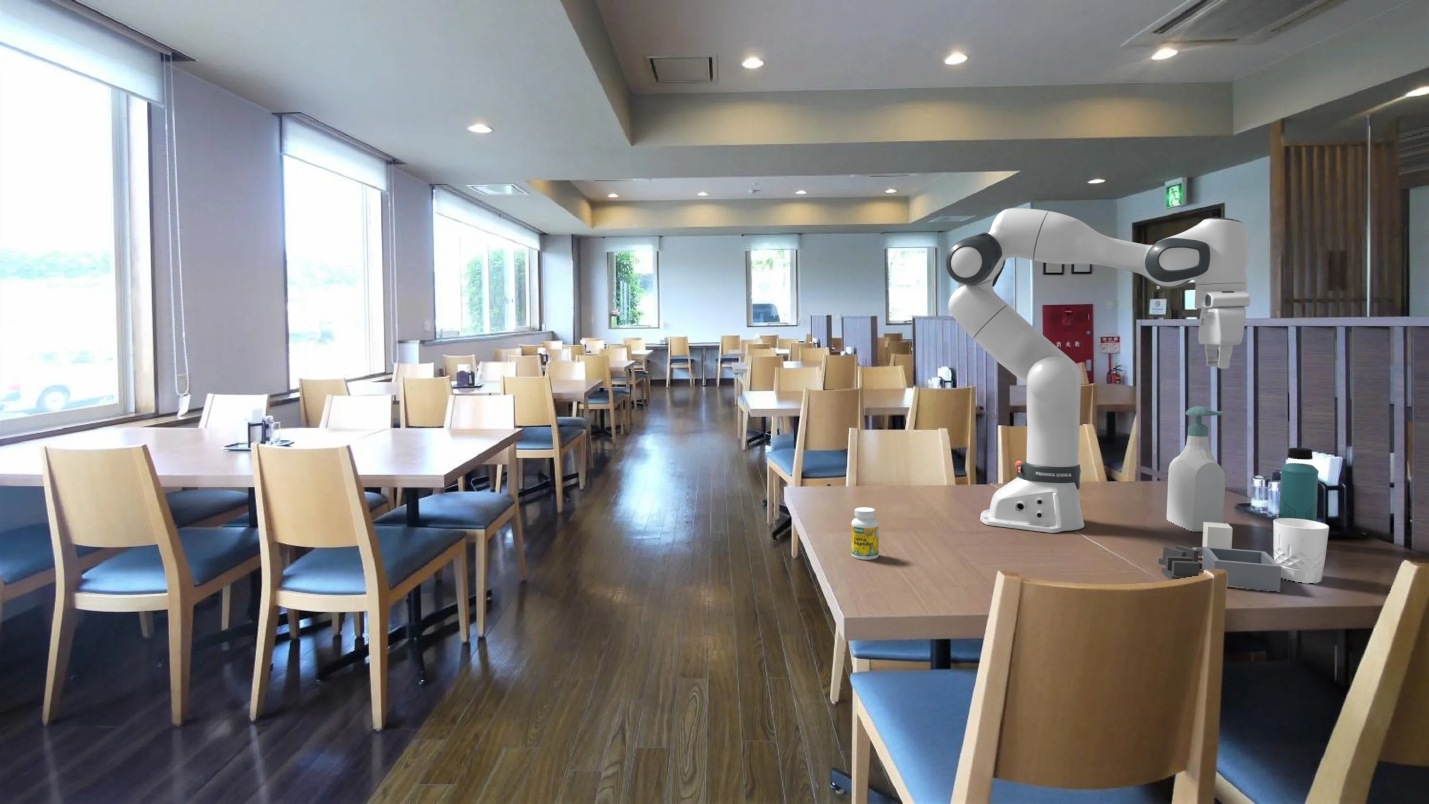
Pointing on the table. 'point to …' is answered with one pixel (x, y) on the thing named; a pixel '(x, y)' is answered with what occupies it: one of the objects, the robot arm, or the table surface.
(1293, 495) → the beverage bottle
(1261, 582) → the gray square tray
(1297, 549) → the white cup
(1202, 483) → the soap bottle
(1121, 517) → the table surface
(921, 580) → the table surface
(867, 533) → the supplement bottle
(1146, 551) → the table surface
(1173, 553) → the clip
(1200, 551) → the block
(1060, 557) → the table surface
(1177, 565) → the clip
